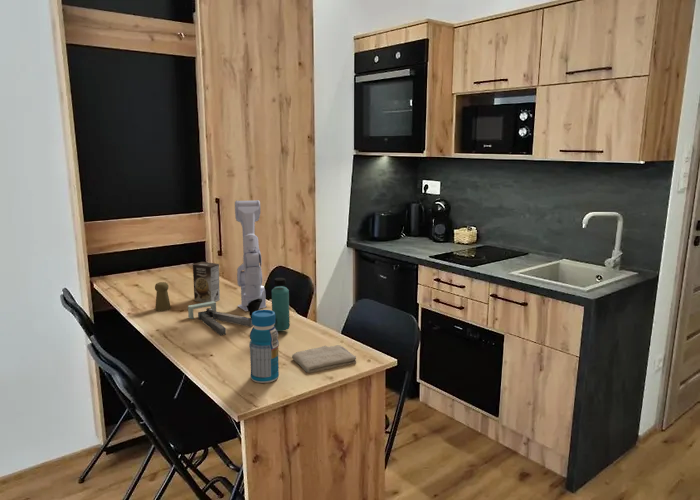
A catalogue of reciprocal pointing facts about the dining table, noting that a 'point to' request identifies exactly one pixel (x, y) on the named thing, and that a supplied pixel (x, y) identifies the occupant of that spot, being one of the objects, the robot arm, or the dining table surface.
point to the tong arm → (231, 318)
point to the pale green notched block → (201, 305)
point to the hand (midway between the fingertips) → (253, 318)
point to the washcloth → (323, 358)
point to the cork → (162, 297)
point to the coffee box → (206, 282)
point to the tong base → (211, 322)
